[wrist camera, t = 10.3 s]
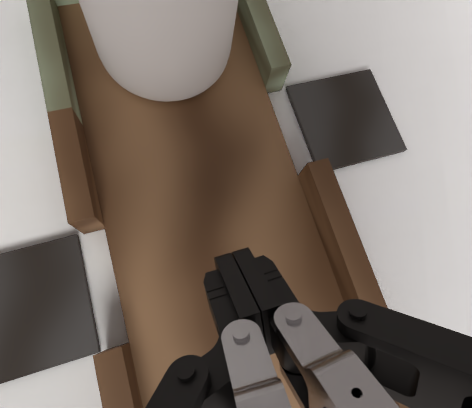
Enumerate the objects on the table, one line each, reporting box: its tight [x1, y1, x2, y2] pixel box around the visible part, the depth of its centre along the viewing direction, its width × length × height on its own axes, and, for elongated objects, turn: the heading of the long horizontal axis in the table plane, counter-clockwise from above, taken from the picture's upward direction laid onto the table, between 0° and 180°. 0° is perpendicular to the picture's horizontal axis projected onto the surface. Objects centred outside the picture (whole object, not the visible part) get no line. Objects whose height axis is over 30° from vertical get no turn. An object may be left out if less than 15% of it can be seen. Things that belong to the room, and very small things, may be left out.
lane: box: [0, 0, 409, 408], centre depth 19 cm, size 26×28×4 cm
